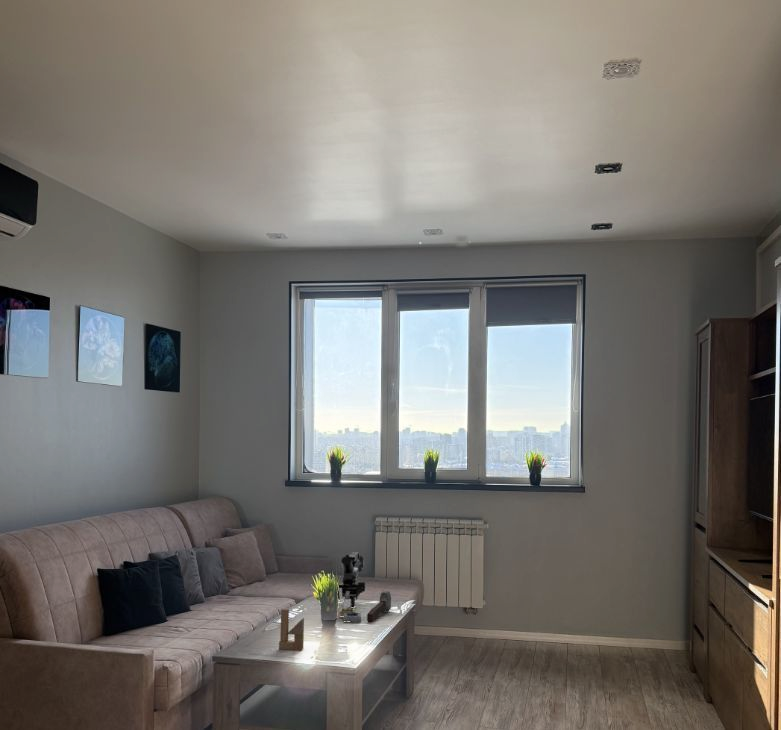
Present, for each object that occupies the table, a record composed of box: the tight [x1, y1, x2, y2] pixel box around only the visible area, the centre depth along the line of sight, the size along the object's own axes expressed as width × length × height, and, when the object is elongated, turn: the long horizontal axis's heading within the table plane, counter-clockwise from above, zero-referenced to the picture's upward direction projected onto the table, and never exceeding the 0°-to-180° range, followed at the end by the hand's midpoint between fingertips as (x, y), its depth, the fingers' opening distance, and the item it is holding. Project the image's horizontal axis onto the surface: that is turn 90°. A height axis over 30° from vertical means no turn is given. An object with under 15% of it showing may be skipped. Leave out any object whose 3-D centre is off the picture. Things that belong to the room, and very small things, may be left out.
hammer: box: [366, 590, 392, 623], centre depth 432 cm, size 5×11×30 cm
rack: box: [339, 608, 356, 617], centre depth 432 cm, size 8×8×3 cm
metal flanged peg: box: [343, 591, 351, 612], centre depth 432 cm, size 4×4×13 cm
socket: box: [343, 612, 362, 623], centre depth 422 cm, size 9×9×3 cm
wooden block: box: [278, 607, 305, 652], centre depth 366 cm, size 4×11×18 cm, turn 80°
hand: (347, 600), depth 433 cm, fingers open, 9 cm apart
